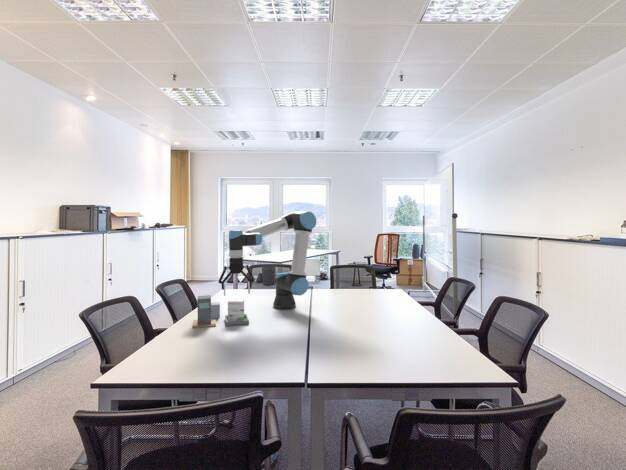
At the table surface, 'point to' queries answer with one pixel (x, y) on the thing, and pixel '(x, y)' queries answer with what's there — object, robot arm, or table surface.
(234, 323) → the tray
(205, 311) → the mounted unit
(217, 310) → the grey block
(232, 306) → the ink box
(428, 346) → the table surface
